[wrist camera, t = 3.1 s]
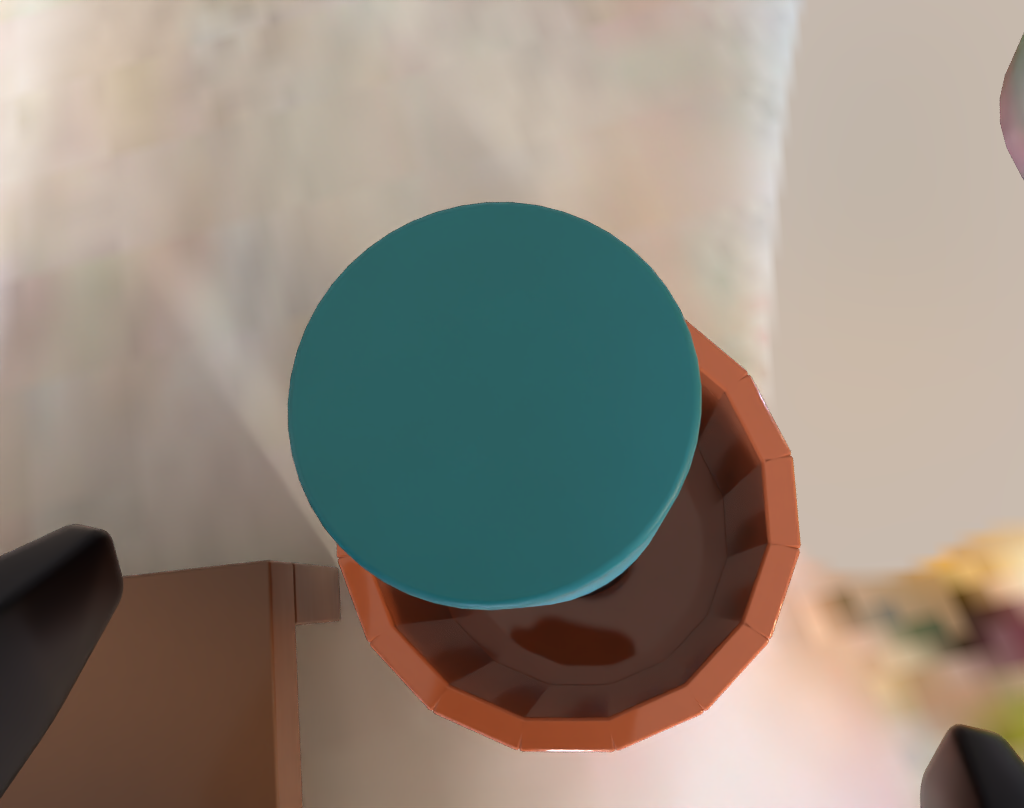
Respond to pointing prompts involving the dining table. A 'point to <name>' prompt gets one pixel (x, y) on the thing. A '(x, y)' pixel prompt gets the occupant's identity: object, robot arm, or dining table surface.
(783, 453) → the pen cup
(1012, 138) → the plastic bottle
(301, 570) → the shelf
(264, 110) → the dining table surface
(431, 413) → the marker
